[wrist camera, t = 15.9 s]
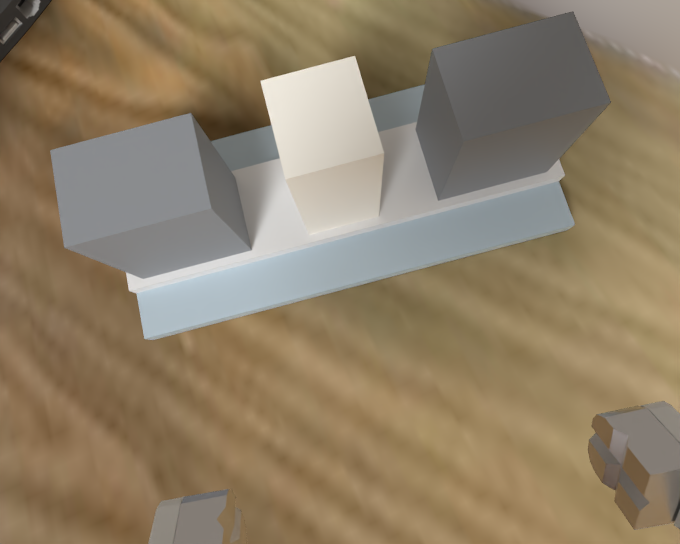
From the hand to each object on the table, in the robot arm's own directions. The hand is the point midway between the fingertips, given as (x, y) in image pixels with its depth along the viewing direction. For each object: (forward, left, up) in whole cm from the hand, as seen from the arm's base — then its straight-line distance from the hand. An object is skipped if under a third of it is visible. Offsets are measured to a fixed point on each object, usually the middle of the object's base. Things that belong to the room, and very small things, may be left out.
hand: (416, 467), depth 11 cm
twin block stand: (-12, +6, -20) cm, 24 cm away
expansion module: (-12, +6, -17) cm, 22 cm away
